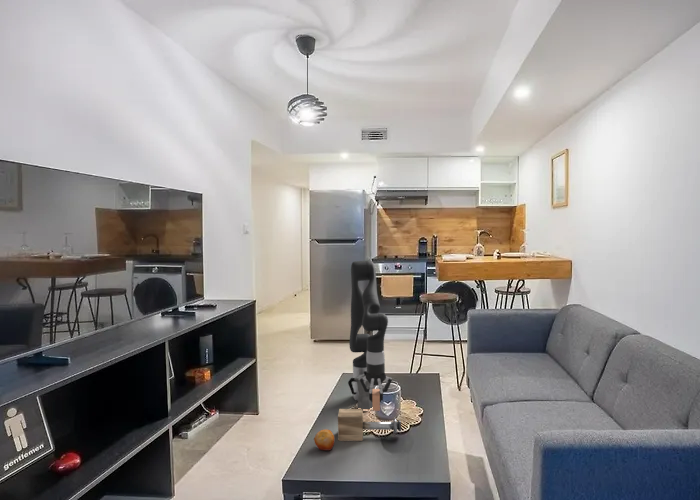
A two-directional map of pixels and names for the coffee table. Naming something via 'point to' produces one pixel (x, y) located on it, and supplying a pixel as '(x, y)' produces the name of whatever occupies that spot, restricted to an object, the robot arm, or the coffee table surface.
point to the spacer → (376, 399)
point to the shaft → (382, 425)
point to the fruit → (324, 440)
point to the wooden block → (350, 425)
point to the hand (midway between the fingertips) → (376, 400)
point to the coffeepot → (361, 392)
